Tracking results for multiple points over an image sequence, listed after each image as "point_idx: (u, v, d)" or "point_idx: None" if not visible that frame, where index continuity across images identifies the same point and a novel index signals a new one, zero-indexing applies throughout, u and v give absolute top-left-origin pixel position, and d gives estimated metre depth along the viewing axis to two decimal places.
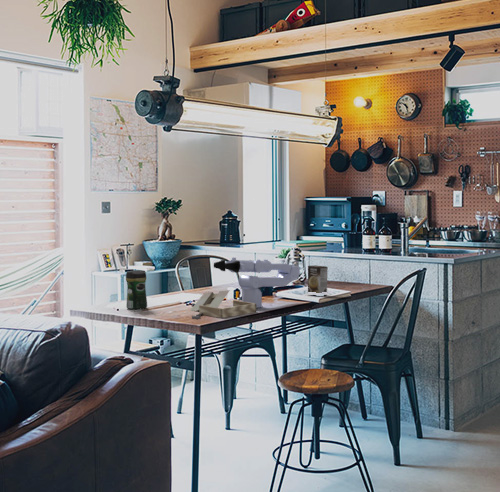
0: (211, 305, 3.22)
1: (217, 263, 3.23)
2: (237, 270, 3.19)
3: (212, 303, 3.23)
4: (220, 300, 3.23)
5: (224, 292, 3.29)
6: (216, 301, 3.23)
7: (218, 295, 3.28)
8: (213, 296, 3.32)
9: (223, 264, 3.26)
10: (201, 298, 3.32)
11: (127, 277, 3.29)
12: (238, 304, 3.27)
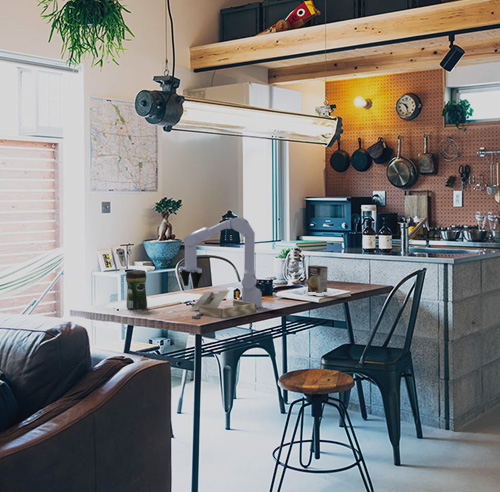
0: (210, 305, 3.22)
1: (185, 282, 3.39)
2: (201, 274, 3.33)
3: (212, 303, 3.23)
4: (219, 300, 3.23)
5: (224, 292, 3.29)
6: (215, 301, 3.23)
7: (218, 295, 3.28)
8: (213, 296, 3.32)
9: (185, 274, 3.39)
10: (201, 298, 3.33)
11: (127, 277, 3.29)
12: (238, 304, 3.27)
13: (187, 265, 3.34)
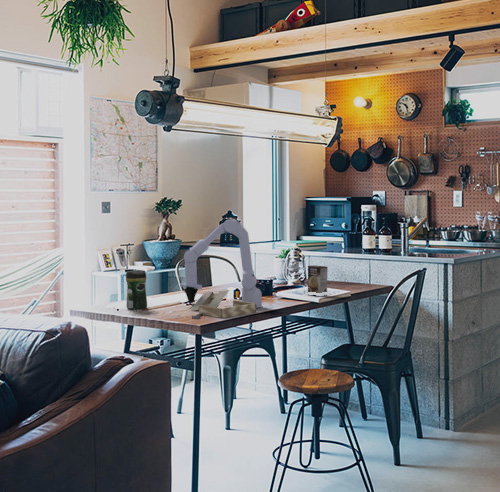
0: (210, 305, 3.22)
1: None
2: (196, 290, 3.36)
3: (211, 303, 3.23)
4: (219, 300, 3.23)
5: (224, 292, 3.28)
6: (215, 301, 3.23)
7: (218, 295, 3.28)
8: (213, 296, 3.32)
9: None
10: (201, 298, 3.33)
11: (127, 277, 3.29)
12: (238, 304, 3.27)
13: (187, 281, 3.34)
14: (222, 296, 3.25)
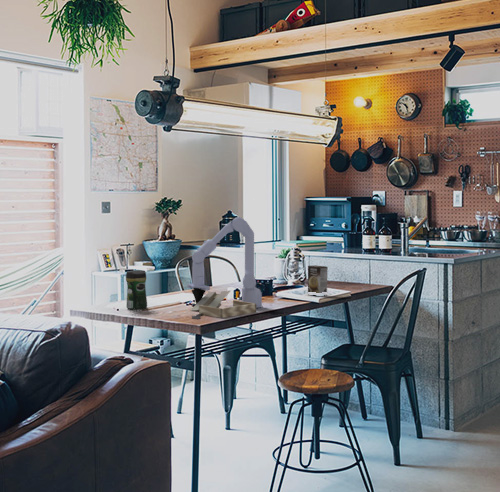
0: (210, 305, 3.21)
1: None
2: (204, 291, 3.32)
3: (212, 303, 3.22)
4: (219, 300, 3.21)
5: (225, 292, 3.26)
6: (215, 302, 3.22)
7: (219, 295, 3.26)
8: (215, 296, 3.30)
9: None
10: (204, 298, 3.32)
11: (127, 277, 3.29)
12: (238, 304, 3.27)
13: (195, 282, 3.30)
14: (223, 296, 3.23)
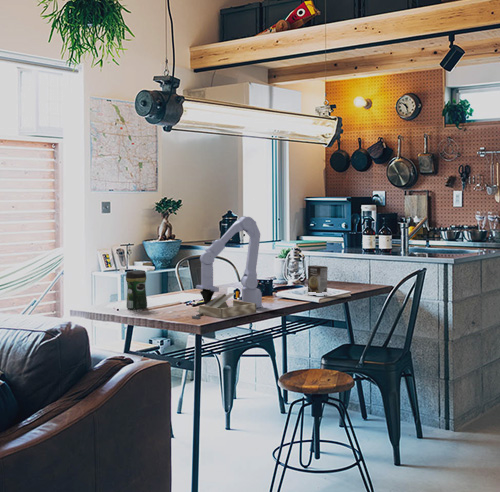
0: None
1: None
2: (213, 292, 3.28)
3: (214, 305, 3.17)
4: (221, 302, 3.15)
5: (231, 294, 3.19)
6: (218, 304, 3.16)
7: (225, 297, 3.20)
8: (223, 298, 3.25)
9: None
10: (213, 299, 3.27)
11: (127, 277, 3.29)
12: (238, 304, 3.27)
13: (204, 284, 3.25)
14: (226, 299, 3.16)
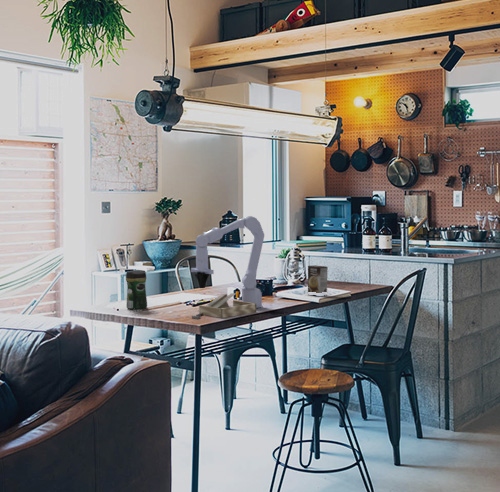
0: None
1: None
2: (208, 275, 3.30)
3: (215, 305, 3.17)
4: (222, 303, 3.15)
5: (231, 295, 3.19)
6: (218, 304, 3.16)
7: (225, 297, 3.20)
8: (225, 298, 3.24)
9: None
10: (215, 299, 3.27)
11: (127, 277, 3.29)
12: (238, 304, 3.27)
13: (198, 266, 3.28)
14: (227, 299, 3.16)
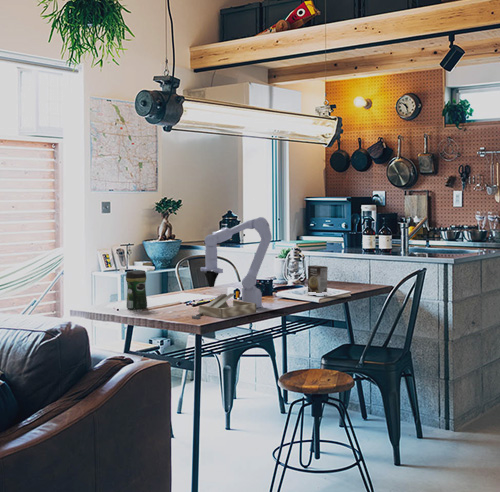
0: None
1: None
2: (217, 274, 3.34)
3: (215, 305, 3.17)
4: (221, 303, 3.15)
5: (231, 295, 3.19)
6: (218, 304, 3.16)
7: (225, 298, 3.20)
8: (224, 298, 3.25)
9: None
10: (214, 299, 3.28)
11: (127, 277, 3.29)
12: (238, 304, 3.27)
13: (208, 265, 3.32)
14: (226, 299, 3.16)
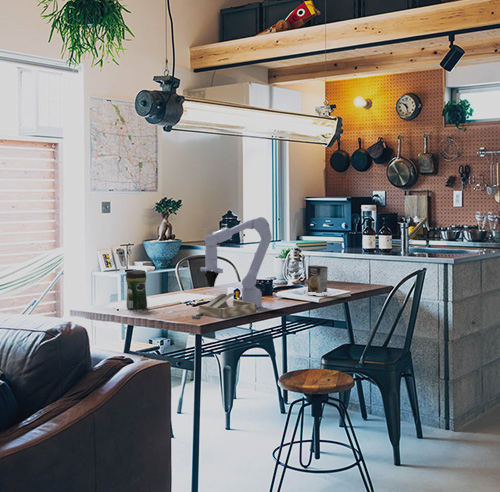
0: None
1: None
2: (217, 274, 3.34)
3: (214, 305, 3.17)
4: (221, 302, 3.15)
5: (231, 295, 3.19)
6: (218, 304, 3.16)
7: (225, 297, 3.20)
8: (224, 298, 3.25)
9: None
10: (214, 299, 3.28)
11: (127, 277, 3.29)
12: (238, 304, 3.27)
13: (208, 265, 3.32)
14: (226, 299, 3.17)
